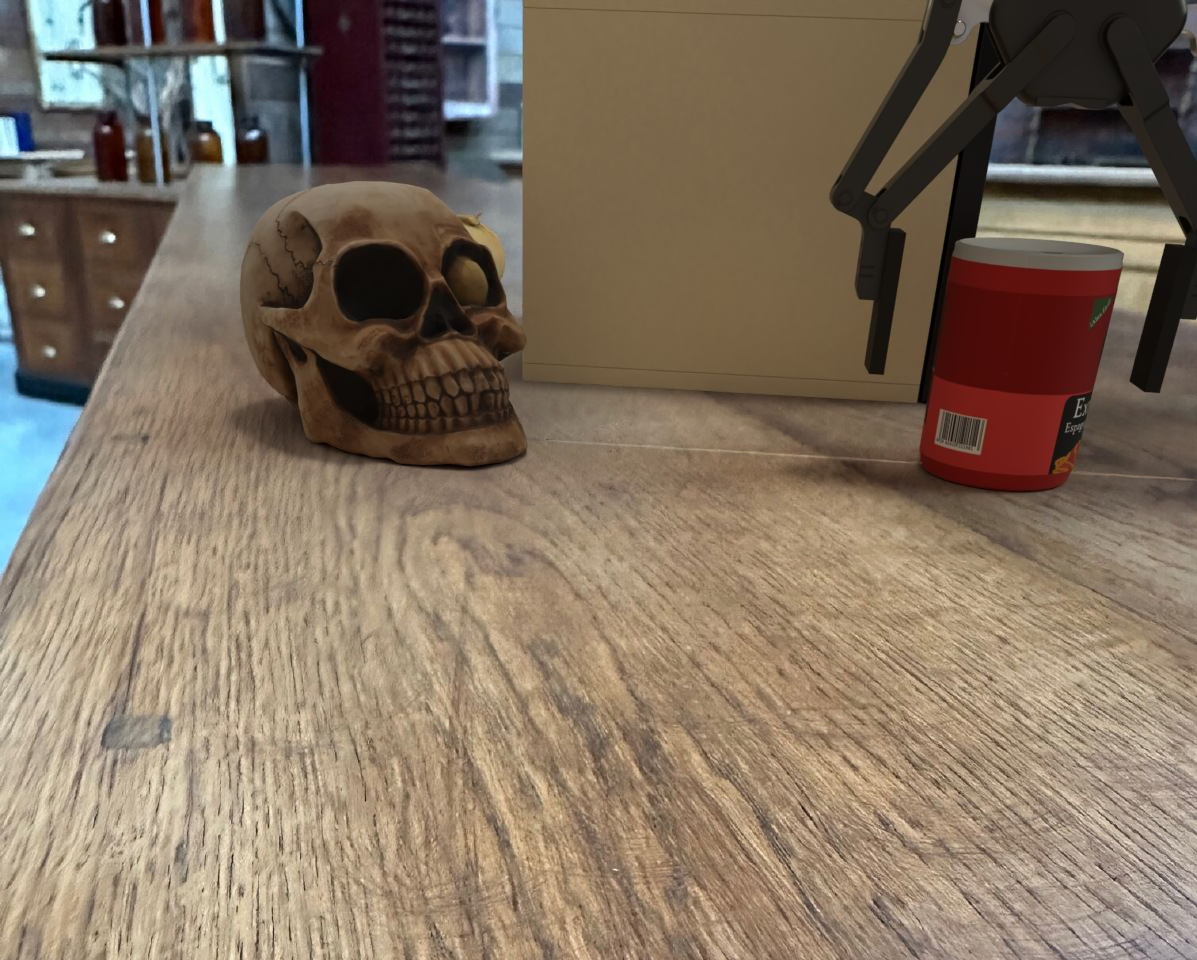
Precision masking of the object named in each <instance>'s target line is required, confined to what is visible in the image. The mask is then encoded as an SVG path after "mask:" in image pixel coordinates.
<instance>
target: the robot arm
mask: <svg viewBox="0 0 1197 960" xmlns="http://www.w3.org/2000/svg"><path fill="white" fill-rule="evenodd" d="M979 23H985V27H986V30H987V33H988V35H989V38H990V40H991V42H992V45H993V47H994V49H995V52H996V54H997V56H998V59H999V61H1000V62H999V63H998V64H997V65H996V66H995V67H994V69H993V70H992V71H991V72H990V73H989V74H988V75H987V76H986V77H985V78H984V79H983V80H982V81H981V82H980V83H979V84H978V85H977V87H976V88H975V89H974V90H973V91H972V92H971V94H970V95H969V97H968V98H967V99H966V100H965V101H964V102H963V103H962V104H961V105H960V106H959V107H958V108H957V109H956V110H955V111H954V112H953V114H952V115H951V116H950V117H949V118H948V119H947V120H946V121H945V122H944V123H943V124H942V125H941V126H940V127H939V128H938V129H937V130H936V131H935V132H934V134H933V135H932V136H931V137H930V138H929V139H928V140H927V141H926V142H925V143H924V144H923V145H922V146H921V147H920V148H919V149H918V150H917V151H916V153H915V154H914V155H913V156H912V157H911V158H910V159H909V160H908V161H907V162H906V163H905V164H904V165H903V166H902V167H901V168H900V169H899V170H898V172H897V173H896V174H895V175H894V176H893V177H892V178H891V179H890V180H889V181H888V182H887V183H886V184H885V185H884V186H883V187H882V188H881V189H880V190H879V192H878V193H877V194H876V195H875V196H874V195H872V194H870V193H868V192H866V191H865V189H866V187H867V186H868V184H869V182H870V181H871V179H872V177H873V176H874V174H875V172H876V171H877V169H878V167H879V166H880V164H881V162H882V161H883V159H884V158H885V156H886V154H887V153H888V151H889V149H890V148H891V146H892V144H893V143H894V141H895V139H896V138H897V136H898V134H899V133H900V131H901V129H902V128H903V126H904V124H905V123H906V121H907V119H908V118H909V116H910V115H911V113H912V111H913V110H914V108H915V106H916V105H917V103H918V101H919V100H920V98H921V96H922V95H923V93H924V91H925V90H926V88H927V86H928V85H929V83H930V81H931V80H932V78H933V76H934V75H935V73H936V72H937V70H938V68H939V66H940V65H941V63H942V61H943V59H944V57H945V55H946V53H947V50H948V48H949V46H956V45H959V44H961V43H963V42H964V41H965V40H966V39H967V38H968V36H969V34H970V32H971V30H972V29H973V28H974V26H976V25H977V24H979ZM1181 34H1183V35H1185V37H1187V40H1188V42H1189V51H1190V53H1191V55H1192V56H1193V57H1195V58H1197V3H1187V0H928V1H927V5H926V9H925V13H924V17H923V21H922V25H921V29H920V33H919V37H918V41H917V44H916V46H915V47H914V49H913V51H912V53H911V54H910V56H909V58H908V59H907V61H906V63H905V64H904V66H903V68H902V70H901V71H900V73H899V75H898V76H897V78H896V80H895V81H894V83H893V85H892V86H891V88H890V90H889V92H888V93H887V95H886V97H885V98H884V100H883V102H882V103H881V105H880V107H879V109H878V110H877V112H876V114H875V115H874V117H873V119H872V120H871V122H870V124H869V125H868V127H867V129H866V131H865V132H864V134H863V136H862V137H861V139H860V141H859V142H858V144H857V146H856V148H855V149H854V151H853V153H852V154H851V156H850V158H849V159H848V161H847V163H846V164H845V166H844V168H843V170H842V171H841V173H840V175H839V176H838V178H837V180H836V181H835V183H834V185H833V186H832V188H831V191H830V193H829V199H830V202H831V204H832V205H833V206H834V208H835V209H837V210H838V211H840V212H842V213H844V214H847V215H849V216H851V217H853V218H855V219H856V220H858V221H859V223H860V225H861V229H862V235H861V242H860V249H859V256H858V263H857V270H856V277H855V284H854V285H855V290H856V294H857V297H858V298H859V300H874V302H873V309H872V316H871V322H870V329H869V335H868V342H867V349H866V355H865V362H864V365H865V367H866V369H867V371H868V373H869V374H876V375H884V371H885V364H886V358H887V352H888V346H889V339H890V333H891V327H892V321H893V314H894V308H895V302H896V296H897V289H898V283H899V277H900V271H901V264H902V258H903V252H904V246H905V239H906V232H904V231H903V230H902V229H900V228H891V223H892V222H893V221H894V220H895V219H896V218H897V217H898V216H899V215H900V214H901V213H902V212H903V210H904V209H905V208H906V207H907V206H908V205H909V204H910V203H911V202H912V201H913V200H914V199H915V198H916V197H917V196H918V195H919V194H920V193H921V192H922V191H923V190H924V189H925V188H926V187H927V186H928V185H929V184H930V183H931V182H932V181H933V179H934V178H935V177H936V176H937V175H938V174H939V173H940V172H941V171H942V170H943V169H944V168H945V167H946V166H947V165H948V164H949V163H950V162H951V161H952V160H953V159H954V158H955V157H956V156H957V155H958V154H959V153H960V152H961V151H962V150H963V148H964V147H965V146H966V145H967V144H968V143H969V142H970V141H971V140H972V139H973V138H974V137H975V136H976V135H977V134H978V133H979V132H980V131H981V130H982V129H983V128H984V127H985V126H986V125H987V124H988V123H989V122H990V121H991V120H992V119H993V118H994V117H995V116H996V115H997V114H998V115H999V114H1000V113H1001V112H1002V111H1004V110H1005V109H1006V108H1007V106H1008V105H1010V104H1011V102H1012V101H1013V100H1015V98H1017V100H1018V101H1020V102H1021V103H1022V104H1024V105H1026V107H1033V108H1054V107H1059V106H1063V105H1066V106H1069V107H1072V108H1074V109H1077V110H1092V111H1093V110H1095V111H1097V110H1103V111H1106V109H1107V108H1110V107H1112V106H1114V105H1116V107H1117V109H1118V111H1119V112H1120V115H1121V116H1122V118H1123V119H1124V120H1125V121H1126V122H1127V123H1128V125H1129V127H1130V129H1131V131H1132V133H1133V135H1134V137H1135V139H1136V141H1137V143H1138V146H1139V147H1140V150H1141V151H1142V153H1143V155H1144V158H1145V159H1146V162H1147V163H1148V164H1149V167H1150V169H1151V171H1152V174H1153V175H1154V177H1155V179H1156V181H1157V183H1158V185H1159V187H1160V190H1161V191H1162V193H1163V195H1164V197H1165V199H1166V201H1167V204H1168V206H1169V207H1170V209H1171V211H1172V214H1173V216H1174V217H1175V219H1176V222H1177V224H1178V225H1179V228H1180V230H1181V232H1182V234H1183V235H1184V238H1185V241H1184V244H1182V243H1168V242H1167V243H1166V242H1165V243H1164V247H1163V249H1162V250H1163V251H1162V255H1161V259H1160V261H1159V266H1158V270H1157V273H1156V277H1155V281H1154V284H1153V289H1152V292H1151V297H1150V300H1149V303H1148V308H1147V312H1146V316H1145V319H1144V322H1143V326H1142V330H1141V334H1140V339H1139V341H1138V346H1137V350H1136V354H1135V356H1134V357H1135V358H1134V361H1133V365H1132V369H1131V373H1130V376H1129V381H1128V382H1129V383H1130V384H1132V385H1133V386H1135V387H1136V388H1138V389H1139V390H1141V391H1142V392H1144V393H1152V394H1160V393H1161V389H1162V388H1163V387H1162V386H1163V383H1164V379H1165V376H1166V372H1167V368H1168V365H1169V363H1170V358H1171V354H1172V350H1173V346H1174V344H1175V340H1176V336H1177V333H1178V329H1179V325H1180V321H1181V320H1189V321H1196V320H1197V159H1196V157H1195V155H1194V152H1193V151H1192V149H1191V147H1190V145H1189V143H1188V141H1187V138H1186V136H1185V134H1184V132H1183V130H1182V128H1181V126H1180V123H1179V122H1178V120H1177V118H1176V116H1175V114H1174V112H1173V109H1172V107H1171V104H1170V96H1169V94H1168V92H1167V89H1166V87H1165V86H1164V83H1163V81H1162V79H1161V77H1160V75H1159V73H1158V71H1157V69H1156V67H1155V64H1156V63H1157V62H1158V61H1159V60H1160V58H1162V56H1163V55H1164V54H1165V53H1166V51H1168V49H1169V48H1170V47H1171V46H1172V45H1173V44H1174V43H1175V41H1177V39H1178V38H1179V37H1180V36H1181ZM998 115H997V116H998Z"/></svg>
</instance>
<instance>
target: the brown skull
mask: <svg viewBox="0 0 1197 960" xmlns="http://www.w3.org/2000/svg"><path fill="white" fill-rule="evenodd" d="M456 214H457V213H456V212H454V211H453V210H452V209H451V208H450V207H449V206H448V205H447V204H446V203H445V202H444V201H443V200H442V199H440V198H439V197H438V196H436V195H435V194H434V193H433V192H432V191H430V190H429V189H427V188H423V187H420V186H416V185H412V184H407V183H401V182H400V183H399V182H391V181H385V180H383V181H380V180H379V181H374V180H373V181H372V180H371V181H370V180H367V181H366V180H365V181H364V180H353V181H346V182H339V183H326V184H321V185H317V186H313V187H311V188H308V189H303V190H301V191H297V192H295V193H293V194H290V195H288V196H285V197H284V198H282V199H280V200H278V201H277V202H275V203H273V205H271V206H270V207H268V209H267V210H265V212H264V213H263V214H262V215H261V217H260V218H259V219H258V221H257V222H256V224H255V225H254V227H253V229H252V231H251V233H250V236H249V239H248V242H247V245H246V248H245V253H244V256H243V259H242V262H241V265H240V279H239V301H240V311H241V312H240V313H241V319H242V325H243V329H244V335H245V339H246V343H247V347H248V350H249V353H250V355H251V358H252V359H253V362H254V364H255V367H256V369H257V370H258V372H259V374H260V376H262V378H263V379H264V380H265V381H266V383H267V384H268V385H269V386H270V387H271V388H272V389H273V390H274V391H275V392H276V393H278V394H279V395H281V396H283V398H285V399H286V401H287V402H288V403H289V404H290V405H292V406H293V407H294V408H295V409H296V410H297V412H298V413H299V414H300V417H301V422H302V426H303V430H304V433H305V437H306V438H307V439H308V440H310V442H312V443H317V444H318V443H321V444H322V443H323V444H325V443H326V444H328V445H330V447H331V446H332V447H334V448H336V449H339V450H343V451H344V452H347V453H351V454H354V455H365V456H366V457H367V456H368V457H370V458H375V459H376V458H379V459H390V460H392V461H394V462H395V463H397V464H405V465H417V466H418V465H419V466H434V465H435V466H437V465H454V466H455V465H456V466H463V467H473V466H475V467H476V466H483V465H490V464H497V463H503V462H506V461H508V460H511V459H514V458H515V457H518V456H519V455H520V454H521V453H524V452H526V451H527V449H528V438H527V436H526V433H525V430H524V427H523V424H522V422H521V421H520V419H519V417H518V415H517V413H516V411H515V408H514V406H513V404H512V402H511V400H510V396H511V393H510V383H509V381H508V378H507V375H506V372H505V371H506V370H505V366H504V365H503V363H502V362H501V361H503V360H504V359H506V358H509V357H510V356H512V355H514V354H517V353H518V352H520V351H522V350H523V349H524V348H525V346H526V344H527V339H526V335H525V333H524V331H523V329H522V325H521V324H520V322H519V321H518V320H517V319H516V317H515V316H514V315H513V314H512V313H511V311H510V310H509V308H508V302H507V295H506V292H505V289H504V286H503V284H502V282H501V280H499V276H498V272H497V268H496V265H495V261H494V258H493V255H492V252H491V250H490V249H489V248H488V246H486V245H482V244H479V243H478V242H476V241H475V240H473V238H472V237H471V235H470V233H469V232H468V231H467V229H466V228H465V226H464V225H463V224H462V222H461V221H460V219H459V218H458V217H457V215H456Z"/></svg>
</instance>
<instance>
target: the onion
mask: <svg viewBox="0 0 1197 960" xmlns="http://www.w3.org/2000/svg"><path fill="white" fill-rule="evenodd" d="M455 214H456V215H457V217H458V218H459V219H460V221H461V222H462V224H463V225H464V226H465V228H466V229H467V231H468V232H469V233H470V235H471V237H472V238H473V240H475V241H476V242H478V243H479V244H482V245H486V246H488V248H489V249H490V250H491V252H492V255H493V258H494V261H495V265H496V268H497V272H498V276H499V280H500V281H501V280H502V279H503V277H504V274H505V269H506V255H505V250H504V247H503V244H502V242H501V240H500V238H499V236H498V235H497V234H496V232H495V231H493V229H491V228H490V227H488V226H487V225H486V224H484V223H482V222H481V221H480V220H479V218H480V216H481V215H482V214H484V211H481V212H479V213H477V214H476V215H471V214H459V213H455Z"/></svg>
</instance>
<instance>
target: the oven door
mask: <svg viewBox="0 0 1197 960" xmlns="http://www.w3.org/2000/svg"><path fill="white" fill-rule="evenodd" d="M999 62H1000V61H999V59H998V56H997V54H996V52H995V49H994V47H993V45H992V42H991V40H990V38H989V35H988V33H987V30H986V27H985V23H980V28H979V34H978V40H977V46H976V52H975V58H974V64H973V70H972V76H971V82H970V88H969V94H968V97H969V95H970V94H971V92H972V91H973V90H974V89H975V88H976V87H977V85H978V84H979V83H980V82H981V81H982V80H983V79H984V78H985V77H986V76H987V75H988V74H989V73H990V72H991V71H992V70H993V69H994V67H995V66H996V65H997V64H998V63H999ZM998 115H999V113H998V114H997V115H996V116H995V117H994V118H993V119H992V120H991V121H990V122H989V123H988V124H987V125H986V126H985V127H984V128H983V129H982V130H981V131H980V132H979V133H978V134H977V135H976V136H975V137H974V138H973V139H972V140H971V141H970V142H969V143H968V144H967V145H966V146H965V147H964V148H963V150H962V151H961V152H960V153H959V154H958V160H957V166H956V172H955V178H954V184H953V190H952V196H951V202H950V208H949V214H948V220H947V226H946V232H945V238H944V244H943V250H942V256H941V262H940V268H939V274H938V280H937V286H936V292H935V298H934V304H933V310H932V316H931V322H930V328H929V334H928V340H927V346H926V352H925V357H924V363H923V369H922V375H921V381H920V385H919V386H920V387H919V393H918V399H919V400H920V402H921V403H927V399H928V393H929V387H930V381H931V375H932V369H933V363H934V357H935V351H936V345H937V339H938V333H939V327H940V321H941V315H942V309H943V303H944V297H945V291H946V285H947V279H948V275H949V270H950V264H951V258H952V254H953V252H954V249H955V243H956V242H957V241H959V240H962V239H967V238H977V232H978V227H979V226H978V225H979V222H980V221H979V220H980V214H981V211H982V210H981V209H982V205H983V199H984V194H985V193H984V192H985V187H986V181H987V177H988V169H989V166H990V165H989V164H990V160H991V155H992V148H993V144H994V143H993V142H994V137H995V136H994V135H995V131H996V126H997V120H998Z"/></svg>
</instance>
